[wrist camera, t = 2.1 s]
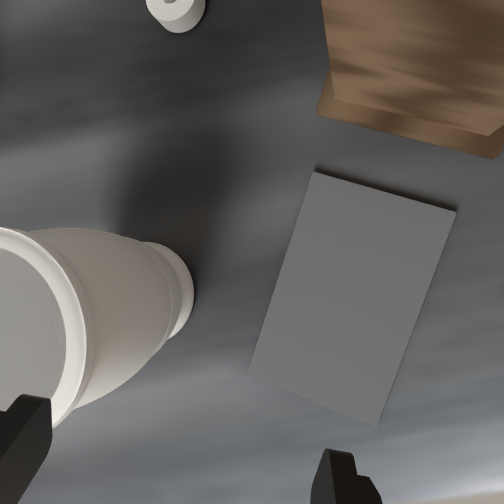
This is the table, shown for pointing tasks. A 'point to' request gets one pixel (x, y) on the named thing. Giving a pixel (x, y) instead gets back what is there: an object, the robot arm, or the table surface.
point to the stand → (418, 70)
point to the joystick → (177, 13)
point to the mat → (349, 295)
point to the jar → (83, 312)
